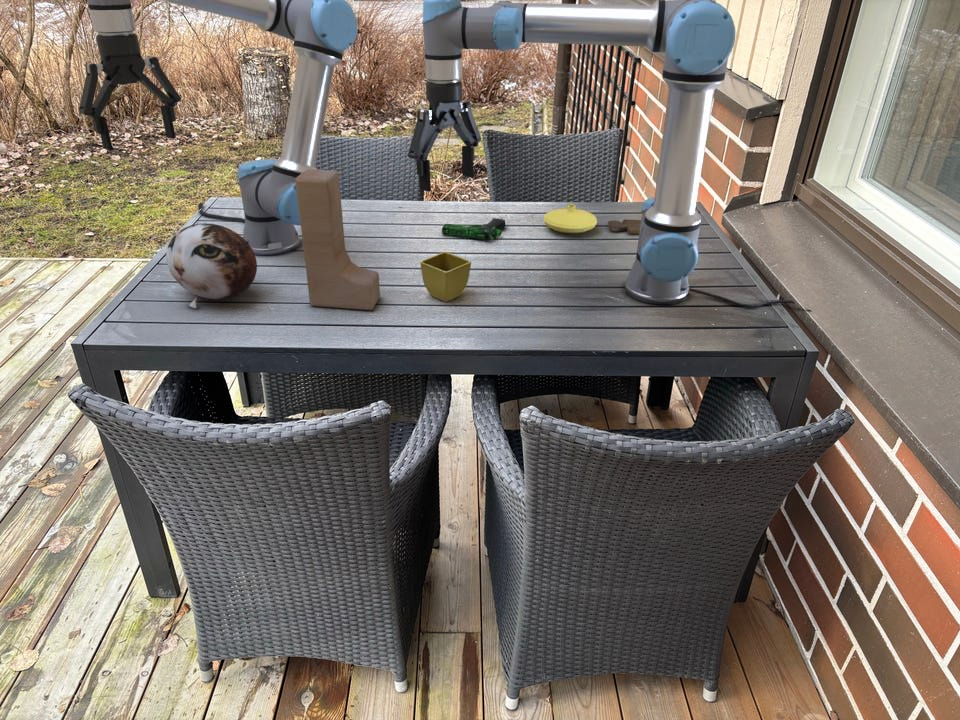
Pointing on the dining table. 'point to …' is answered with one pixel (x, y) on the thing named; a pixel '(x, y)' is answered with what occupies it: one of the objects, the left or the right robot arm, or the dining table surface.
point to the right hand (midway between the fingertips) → (447, 183)
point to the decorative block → (330, 246)
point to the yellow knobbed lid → (570, 220)
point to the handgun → (476, 230)
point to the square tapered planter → (445, 275)
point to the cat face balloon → (211, 261)
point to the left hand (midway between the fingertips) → (140, 143)
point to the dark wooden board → (625, 226)
